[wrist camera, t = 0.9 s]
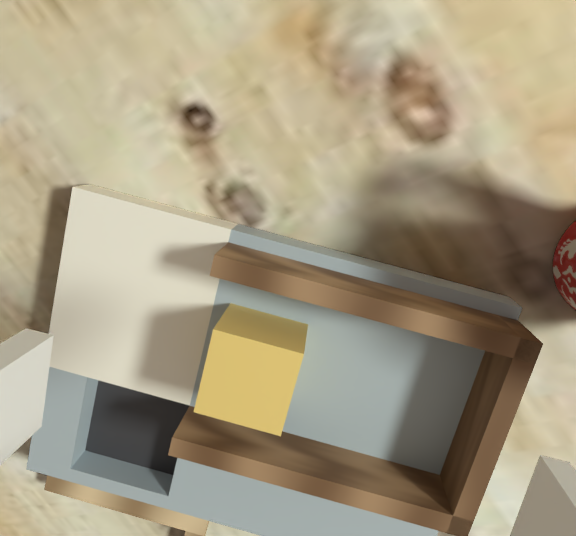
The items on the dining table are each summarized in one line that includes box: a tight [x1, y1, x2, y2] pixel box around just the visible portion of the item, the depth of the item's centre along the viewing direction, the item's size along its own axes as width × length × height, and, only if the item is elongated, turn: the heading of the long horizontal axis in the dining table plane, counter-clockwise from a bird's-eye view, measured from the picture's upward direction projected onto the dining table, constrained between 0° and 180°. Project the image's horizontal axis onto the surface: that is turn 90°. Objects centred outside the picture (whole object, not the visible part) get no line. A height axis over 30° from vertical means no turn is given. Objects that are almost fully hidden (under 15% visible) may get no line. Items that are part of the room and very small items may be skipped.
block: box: [194, 303, 308, 436], centre depth 32 cm, size 5×5×5 cm
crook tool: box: [44, 475, 209, 536], centre depth 40 cm, size 12×5×1 cm, turn 75°
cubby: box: [168, 242, 543, 536], centre depth 32 cm, size 18×12×4 cm
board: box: [27, 184, 522, 536], centre depth 36 cm, size 28×20×2 cm
